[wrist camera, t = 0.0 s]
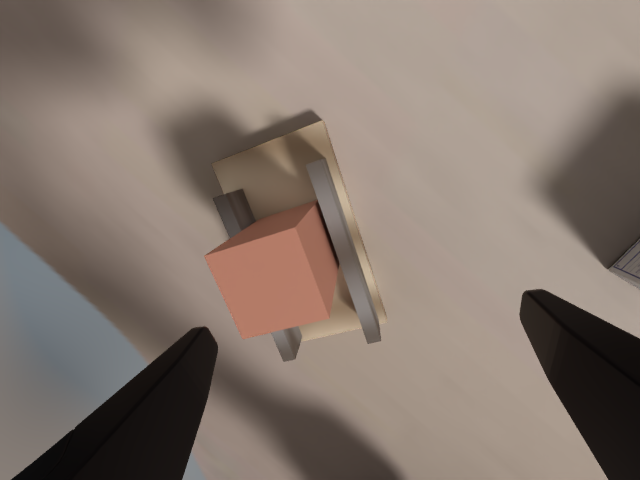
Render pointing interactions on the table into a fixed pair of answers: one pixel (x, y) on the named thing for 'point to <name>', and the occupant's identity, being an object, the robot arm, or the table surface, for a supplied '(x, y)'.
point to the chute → (294, 190)
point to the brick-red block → (278, 271)
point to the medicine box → (629, 266)
